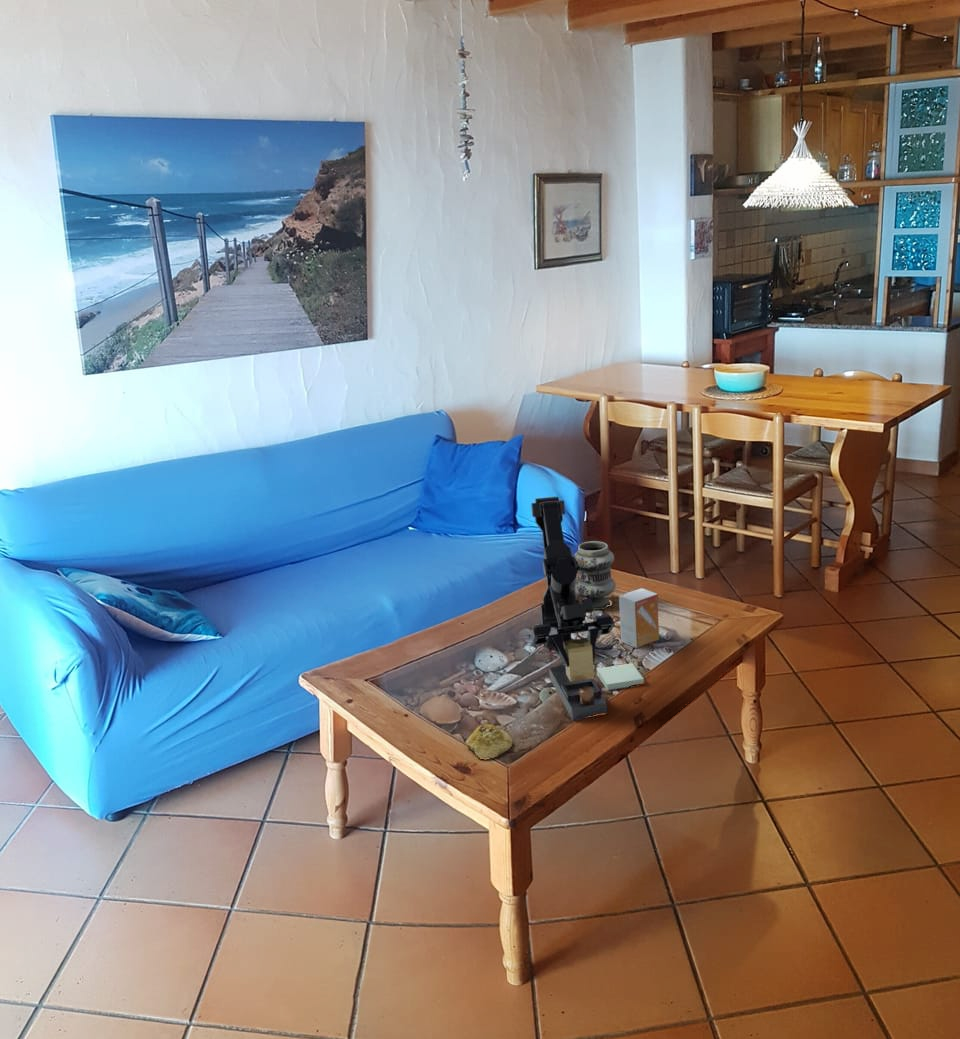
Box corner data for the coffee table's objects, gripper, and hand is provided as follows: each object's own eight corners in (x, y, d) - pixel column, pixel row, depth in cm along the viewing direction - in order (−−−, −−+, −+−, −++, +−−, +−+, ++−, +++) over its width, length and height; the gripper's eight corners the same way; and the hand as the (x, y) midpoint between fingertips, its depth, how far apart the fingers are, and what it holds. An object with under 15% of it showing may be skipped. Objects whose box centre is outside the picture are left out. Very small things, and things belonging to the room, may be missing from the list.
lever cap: (565, 673, 222) (563, 641, 220) (588, 669, 223) (586, 637, 221) (570, 681, 218) (568, 649, 216) (594, 678, 219) (592, 645, 217)
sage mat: (596, 674, 236) (596, 668, 236) (632, 668, 237) (632, 663, 237) (607, 690, 228) (607, 684, 227) (644, 684, 229) (643, 678, 228)
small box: (636, 649, 248) (634, 601, 244) (620, 641, 253) (618, 595, 250) (660, 639, 252) (658, 593, 249) (643, 632, 257) (641, 587, 254)
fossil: (512, 728, 202) (465, 735, 202) (515, 756, 202) (468, 763, 202) (507, 716, 213) (462, 722, 213) (510, 742, 213) (466, 749, 213)
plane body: (549, 678, 236) (548, 656, 234) (581, 673, 237) (580, 651, 235) (572, 720, 215) (571, 696, 213) (607, 714, 216) (605, 690, 215)
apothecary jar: (600, 614, 272) (597, 554, 267) (566, 607, 280) (562, 548, 275) (624, 600, 280) (621, 542, 275) (591, 593, 288) (587, 536, 283)
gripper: (529, 593, 217) (544, 657, 210) (609, 581, 220) (626, 645, 212) (525, 613, 227) (539, 675, 219) (601, 601, 229) (617, 663, 222)
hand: (580, 664), depth 218 cm, fingers closed on lever cap, 5 cm apart
